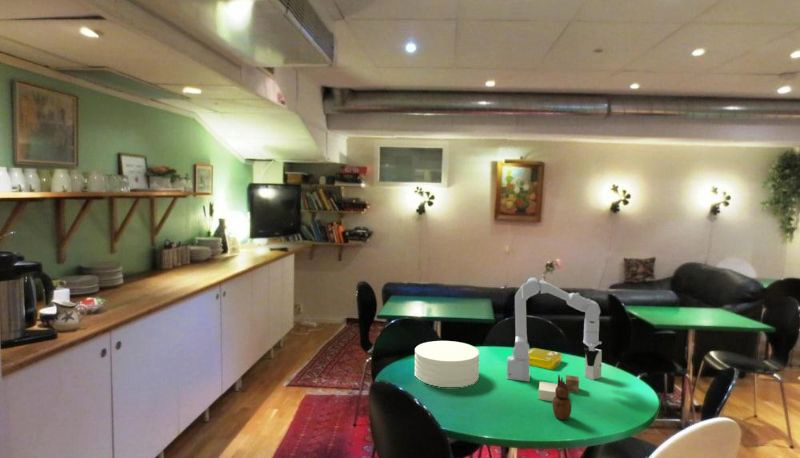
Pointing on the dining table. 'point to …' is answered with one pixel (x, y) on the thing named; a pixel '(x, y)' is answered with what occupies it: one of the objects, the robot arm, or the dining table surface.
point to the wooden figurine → (561, 401)
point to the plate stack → (447, 363)
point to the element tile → (544, 358)
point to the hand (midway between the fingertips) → (590, 362)
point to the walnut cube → (572, 383)
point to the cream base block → (547, 391)
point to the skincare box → (594, 367)
